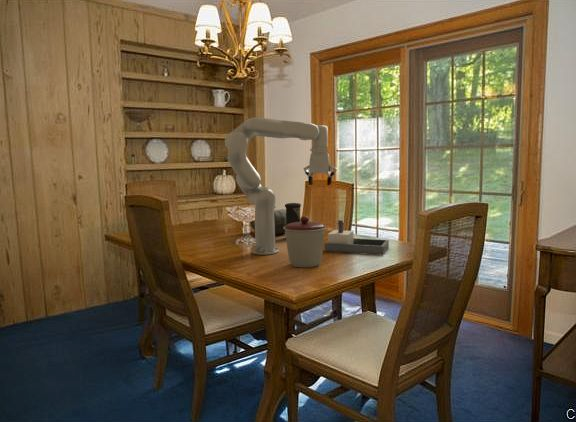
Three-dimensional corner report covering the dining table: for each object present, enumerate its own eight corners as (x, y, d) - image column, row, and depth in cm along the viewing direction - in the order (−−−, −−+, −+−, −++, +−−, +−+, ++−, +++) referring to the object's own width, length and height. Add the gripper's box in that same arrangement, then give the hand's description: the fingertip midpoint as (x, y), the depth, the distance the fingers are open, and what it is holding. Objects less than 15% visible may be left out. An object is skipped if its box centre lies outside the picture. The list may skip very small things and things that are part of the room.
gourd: (289, 233, 251) (284, 203, 252) (247, 239, 257) (242, 210, 257) (297, 230, 276) (293, 202, 276) (259, 236, 281) (255, 209, 281)
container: (301, 239, 247) (301, 203, 245) (285, 239, 247) (284, 203, 245) (301, 236, 256) (300, 201, 253) (285, 236, 256) (285, 202, 253)
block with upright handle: (347, 249, 214) (347, 222, 212) (327, 247, 218) (327, 221, 216) (353, 244, 224) (353, 219, 222) (334, 243, 228) (333, 218, 226)
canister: (275, 265, 190) (274, 216, 187) (304, 258, 203) (303, 212, 200) (306, 273, 177) (305, 220, 175) (335, 264, 190) (335, 215, 187)
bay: (383, 255, 205) (383, 246, 205) (324, 251, 216) (324, 243, 215) (388, 248, 220) (388, 240, 220) (333, 244, 230) (333, 237, 230)
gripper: (301, 150, 222) (301, 184, 224) (334, 150, 215) (334, 185, 217) (306, 150, 229) (306, 184, 231) (338, 150, 222) (338, 184, 224)
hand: (319, 184), depth 224 cm, fingers open, 9 cm apart
